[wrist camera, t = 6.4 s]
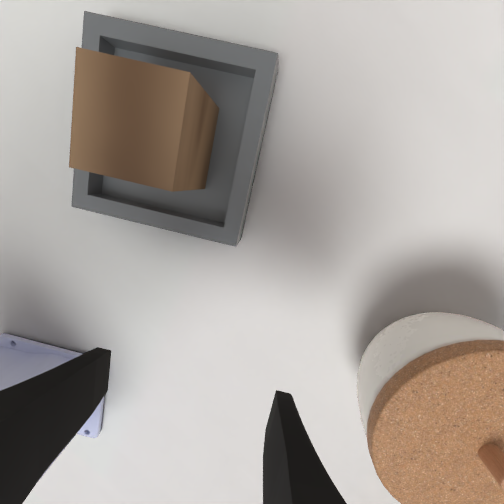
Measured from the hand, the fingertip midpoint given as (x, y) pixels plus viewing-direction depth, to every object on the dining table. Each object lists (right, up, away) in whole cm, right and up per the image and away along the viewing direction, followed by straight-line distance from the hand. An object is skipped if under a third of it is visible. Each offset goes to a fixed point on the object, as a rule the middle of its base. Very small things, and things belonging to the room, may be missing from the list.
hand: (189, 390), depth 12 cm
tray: (-2, +13, +7) cm, 15 cm away
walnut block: (-2, +13, +6) cm, 15 cm away
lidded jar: (+15, -2, +9) cm, 18 cm away
